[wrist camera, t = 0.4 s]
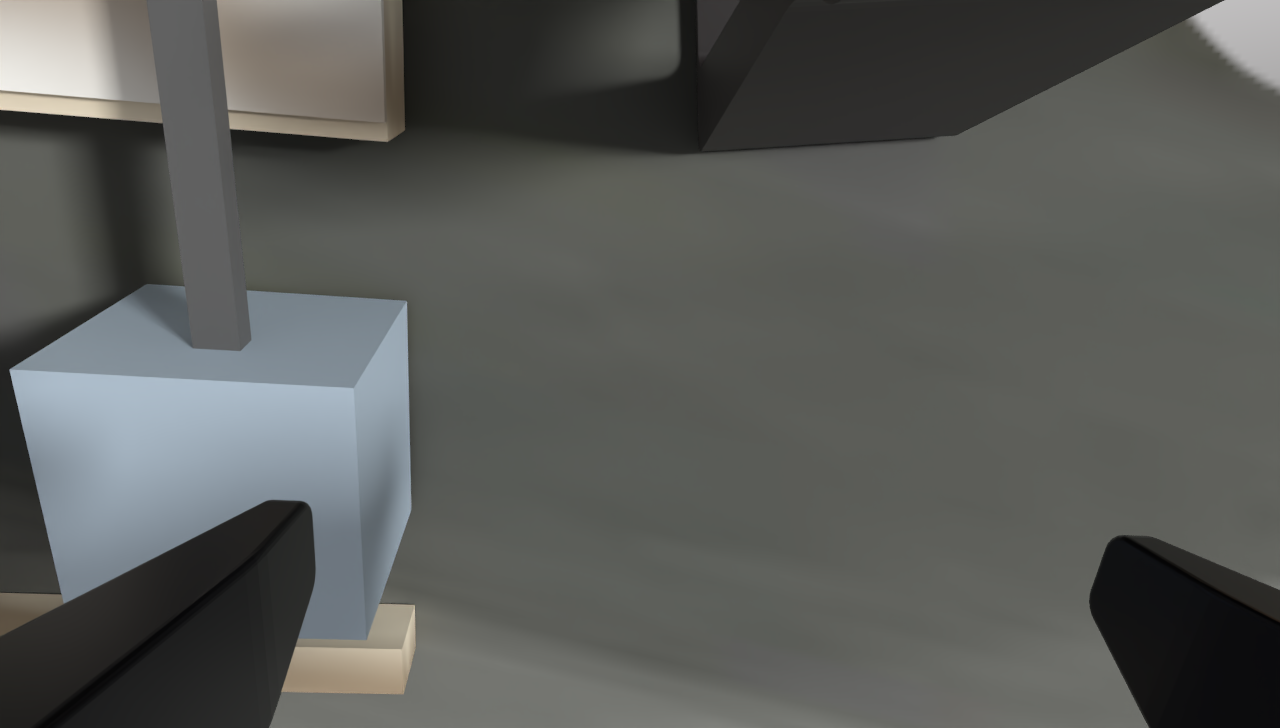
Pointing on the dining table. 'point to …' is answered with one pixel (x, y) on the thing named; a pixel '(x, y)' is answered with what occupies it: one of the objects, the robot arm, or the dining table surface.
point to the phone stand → (896, 62)
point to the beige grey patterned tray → (257, 101)
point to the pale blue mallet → (221, 387)
